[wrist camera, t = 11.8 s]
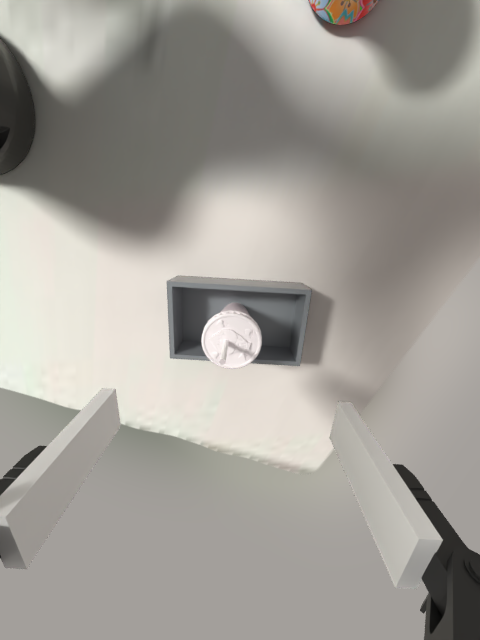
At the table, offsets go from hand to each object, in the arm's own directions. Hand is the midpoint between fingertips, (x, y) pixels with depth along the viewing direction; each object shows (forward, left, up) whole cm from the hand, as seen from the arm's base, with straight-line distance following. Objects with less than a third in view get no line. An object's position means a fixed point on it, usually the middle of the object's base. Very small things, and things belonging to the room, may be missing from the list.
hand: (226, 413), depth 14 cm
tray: (0, 0, -21) cm, 21 cm away
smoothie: (0, 0, -21) cm, 21 cm away
